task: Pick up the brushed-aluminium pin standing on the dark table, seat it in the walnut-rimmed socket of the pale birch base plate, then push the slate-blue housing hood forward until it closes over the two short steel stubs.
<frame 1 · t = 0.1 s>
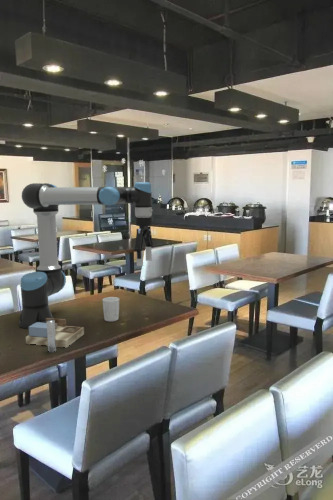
hand: (144, 263, 188), 28 cm above the table, fingers open, 13 cm apart
base plate: (56, 338, 171), on the table
pin: (52, 350, 158), on the table
white cup: (111, 319, 196), on the table
housing: (41, 329, 167), point 5 cm above the table, slide at 0.0 cm
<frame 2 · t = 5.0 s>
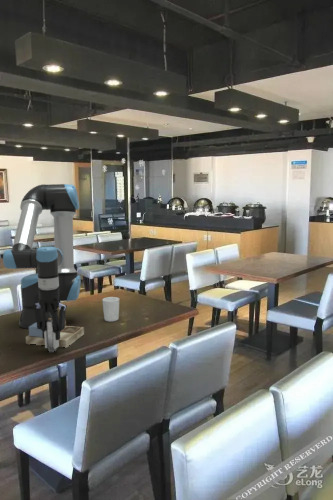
hand: (52, 346, 158), 2 cm above the table, fingers closed on pin, 3 cm apart
pin: (52, 350, 158), on the table, touching gripper
everything else where it was.
when the fingers open (5 cm above the table, at t = 10.1 s): pin stays where it is, resting in base plate.
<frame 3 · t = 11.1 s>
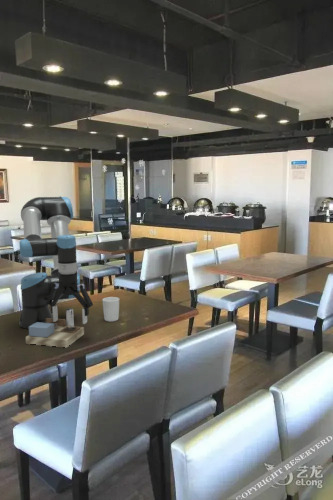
hand: (70, 322, 172), 7 cm above the table, fingers open, 13 cm apart
pin: (70, 337, 173), resting in base plate
everything else where it was.
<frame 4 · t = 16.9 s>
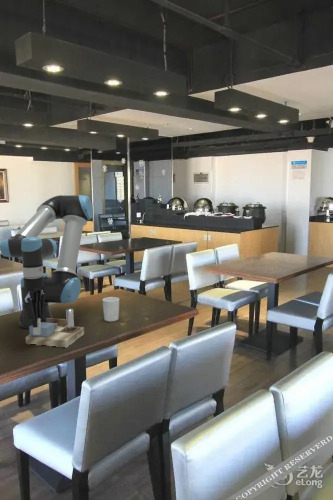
hand: (37, 334, 164), 4 cm above the table, fingers closed
housing: (42, 329, 168), point 5 cm above the table, slide at 0.4 cm, touching gripper
everything else where it was.
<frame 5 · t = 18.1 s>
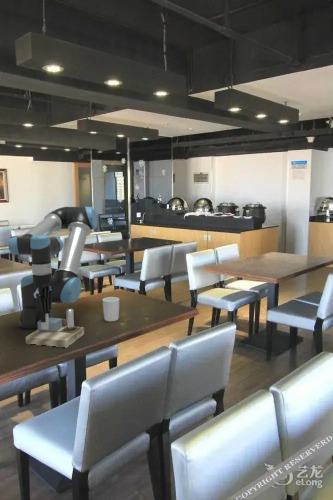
hand: (45, 328, 170), 4 cm above the table, fingers closed
housing: (49, 324, 174), point 5 cm above the table, slide at 6.5 cm, touching gripper
everything else where it was.
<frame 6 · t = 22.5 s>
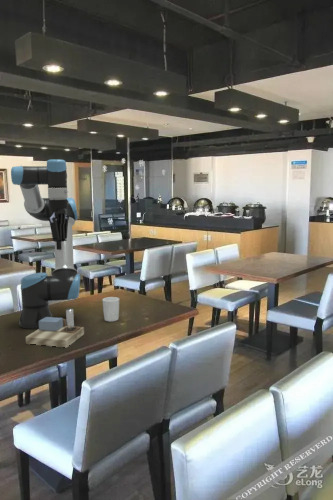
hand: (60, 257, 167), 34 cm above the table, fingers closed
housing: (51, 323, 175), point 5 cm above the table, slide at 7.4 cm
everything else where it was.
at the end: pin 0.1 cm from the target spot on the base plate, point 0.0 cm above the base plate's base; pin tilted 0°; housing slide at 7.4 cm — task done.
